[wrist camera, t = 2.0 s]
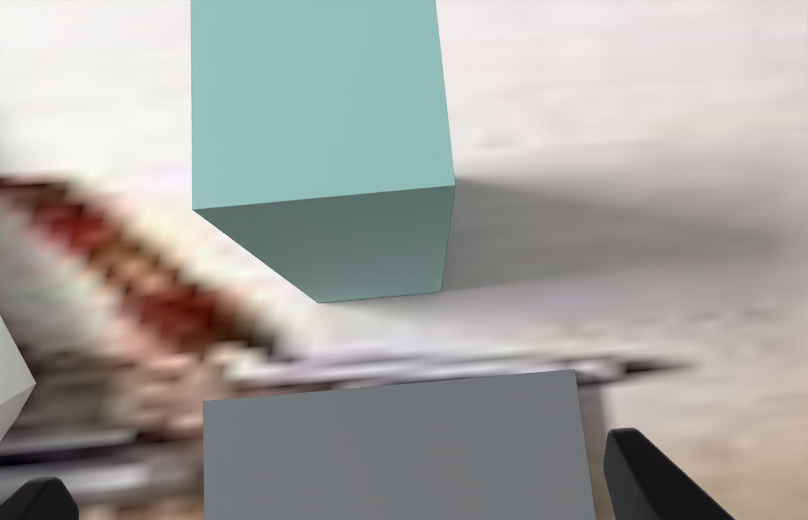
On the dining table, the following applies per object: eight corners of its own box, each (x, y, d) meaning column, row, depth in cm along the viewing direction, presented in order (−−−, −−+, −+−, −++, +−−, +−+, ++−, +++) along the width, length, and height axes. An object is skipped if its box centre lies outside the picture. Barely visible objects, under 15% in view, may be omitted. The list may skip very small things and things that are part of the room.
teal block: (440, 292, 24) (455, 184, 11) (317, 303, 24) (192, 209, 11) (429, 175, 25) (430, -45, 12) (311, 186, 25) (190, -21, 12)
